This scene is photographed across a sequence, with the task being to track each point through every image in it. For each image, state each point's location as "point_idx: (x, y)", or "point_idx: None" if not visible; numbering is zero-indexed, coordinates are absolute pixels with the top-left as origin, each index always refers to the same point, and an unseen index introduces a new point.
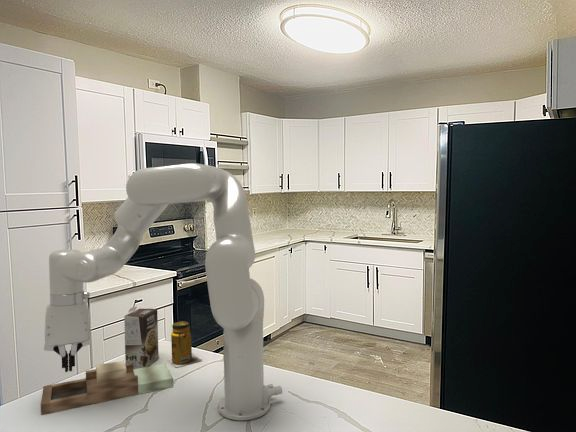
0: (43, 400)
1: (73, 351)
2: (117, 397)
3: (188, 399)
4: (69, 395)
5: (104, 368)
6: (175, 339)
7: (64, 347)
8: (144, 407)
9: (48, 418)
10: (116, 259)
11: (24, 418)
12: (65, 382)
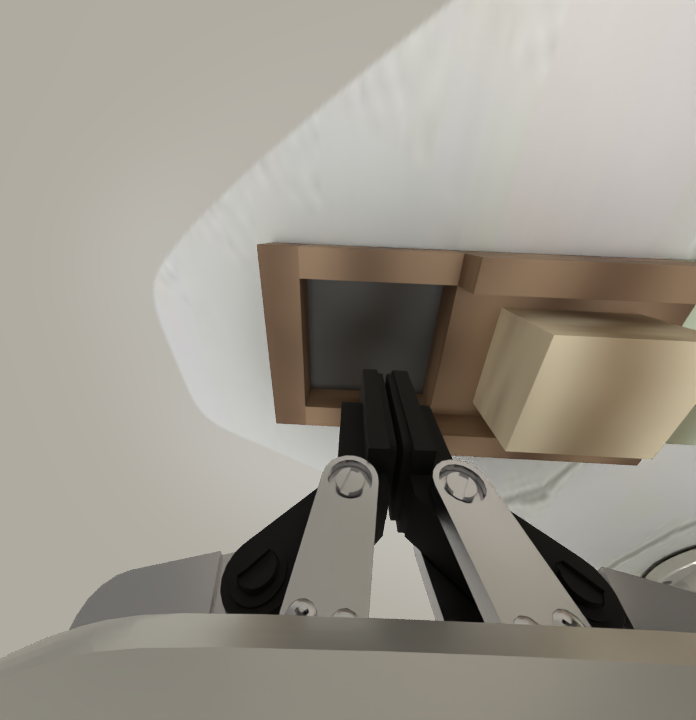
0: (280, 398)
1: (443, 567)
2: None
3: (658, 501)
4: (371, 315)
5: (567, 410)
6: None
7: (367, 545)
8: (544, 486)
9: (308, 427)
10: None
11: (241, 396)
12: (361, 254)
